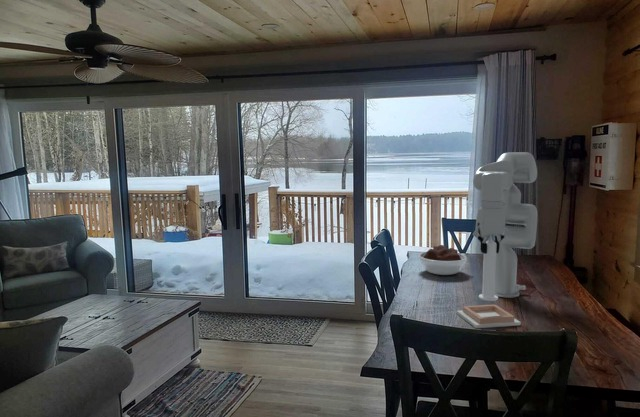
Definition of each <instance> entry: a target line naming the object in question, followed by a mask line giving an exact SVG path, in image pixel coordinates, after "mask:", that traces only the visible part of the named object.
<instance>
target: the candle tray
mask: <svg viewBox="0 0 640 417" xmlns="http://www.w3.org/2000/svg"><path fill="white" fill-rule="evenodd" d="M456 314H457V315H458V316H459V317H461V318H462V319H463V320H464V321H466V322H467V323H468V324H469V325H470V326H472V327H474V328H475V329H482V328H483V329H484V328H498V327H499V328H501V327H513V326H521V323H522V322H521V321H519V320H518V319H517V318H516V317H515V315H513V314H511V312H508V311H506V309H505V310H504V308H502V307H500V306H498V305H497V304H483V305H481V304H479V305H478V304H477V305H465V306H462V309H461V310H460V309H459V310H456Z"/></svg>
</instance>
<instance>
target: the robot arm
mask: <svg viewBox="0 0 640 417" xmlns="http://www.w3.org/2000/svg"><path fill="white" fill-rule="evenodd" d="M537 177H538V166H537V163H536V159H535V157H534V155H533V154H532V153H530V152H527V151H524V152H523V151H519V152H517V151H514V152H512V151H511V152H504V153H502V154H501V155H500V156H499V157H498V158H497V160H496V162H491V163H488V164H485V165H482V166H480V167H479V168H478V169H477V170H476V172H475V173H474V176H473V178H472V179H473V180H472V182H473V186H474V188H475V189H476V190H478V191H481V195H480V196H481V197H480V198H481V200H480V207H479V208H478V210H477V215H476V220H475V230H474V231H473V232H472V236H473V237H474V238H476V239H477V240H478V241H479V242H480V248H479V249H480V252H481V253H482V254H484V253H485V254H486V253H487V243H486V241H487V238H488V236H490V235H491V236H493V241H494V242H495V243H496V244H497V247H496V273H495V295H496V296H497V297H498V298H499V297H500V298H505V299H507V298H509V299H514V298H517V297H519V296H520V291H523V290H525V291H526V290H527V286H526V285H520V284H517V270H518V256H517V253H516V252H515V250H514V249H524V250H530V249H533V248H534V247H535V246H536V238H537V228H538V209H537V207H536V205H534V204H532V203H521V202H522V192H521V191H520V189H519V188H518V187H517V185H516V184H517V183H518V184H519V183H520V184H531V183H534V182H536V180H537ZM514 183H515V184H514ZM506 224H509V225H506ZM513 225H522V226H513ZM524 226H525V227H524Z"/></svg>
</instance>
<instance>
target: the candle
mask: <svg viewBox="0 0 640 417" xmlns="http://www.w3.org/2000/svg"><path fill="white" fill-rule="evenodd" d="M492 236H493V235H489V238H488V240H486V243H487V253H486V254H485V253H483V259H482V260H483V262H482V263H483V264H482V265H483V266H482V293H480V294H479V295H478V298H479V299H480V300H481V301H487V302H495V301H498V300H499V297H498V296H496V295H495V273H496V247H497V244H496V243H495V242H494V239H493V237H492Z"/></svg>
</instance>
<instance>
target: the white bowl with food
mask: <svg viewBox="0 0 640 417" xmlns="http://www.w3.org/2000/svg"><path fill="white" fill-rule="evenodd" d="M418 259H419V261H420V263H421V264H422V265H423V268H424V270H425V271H426V272H428V273H430V274H434V275H440V276H451V275H455V274H458V273H459V272H460V271H461V268H462V267H463V266H464V265H465V264H466V262H467V260H468V259H467V256H466V255H464V254H462V253H458V250H457V249H455V248H453V247H449V248H448V247H447V246H445V245H443V244H440V245H438V246H435V245H434V246H433V248H429V249H428V250H427V251H424V252H421V253H419V255H418Z"/></svg>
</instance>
